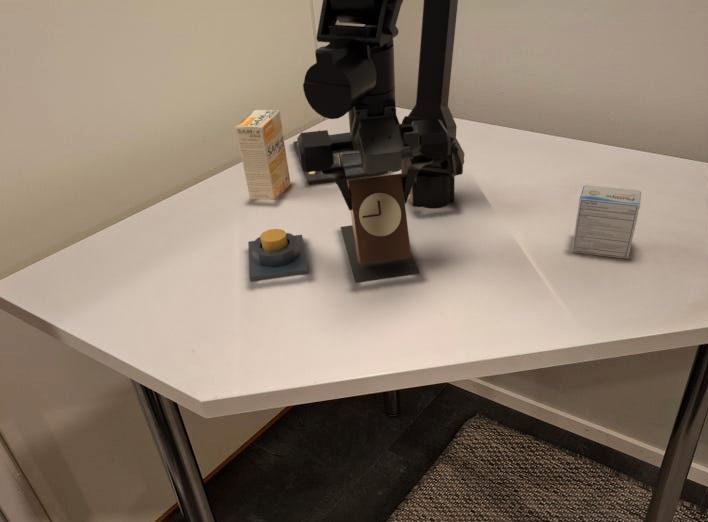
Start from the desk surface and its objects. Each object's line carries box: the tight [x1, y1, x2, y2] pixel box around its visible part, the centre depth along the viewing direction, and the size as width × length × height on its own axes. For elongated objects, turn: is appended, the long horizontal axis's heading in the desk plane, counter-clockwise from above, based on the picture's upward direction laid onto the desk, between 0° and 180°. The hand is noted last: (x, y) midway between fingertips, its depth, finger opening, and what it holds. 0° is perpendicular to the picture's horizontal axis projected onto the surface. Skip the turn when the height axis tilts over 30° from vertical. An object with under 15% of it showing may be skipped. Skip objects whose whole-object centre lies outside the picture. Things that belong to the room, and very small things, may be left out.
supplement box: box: [235, 109, 292, 201], centre depth 105 cm, size 8×5×13 cm, turn 168°
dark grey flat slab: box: [340, 225, 421, 284], centre depth 92 cm, size 9×16×1 cm, turn 11°
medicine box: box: [571, 184, 642, 260], centre depth 88 cm, size 8×4×9 cm, turn 71°
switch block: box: [247, 232, 309, 282], centre depth 90 cm, size 10×8×4 cm
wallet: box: [292, 131, 389, 186], centre depth 119 cm, size 20×2×15 cm
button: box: [259, 228, 288, 251], centre depth 89 cm, size 4×4×2 cm
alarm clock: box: [347, 173, 412, 264], centre depth 85 cm, size 7×11×4 cm
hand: (377, 205), depth 85 cm, fingers closed on alarm clock, 7 cm apart
